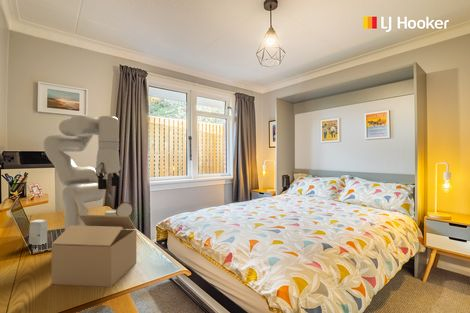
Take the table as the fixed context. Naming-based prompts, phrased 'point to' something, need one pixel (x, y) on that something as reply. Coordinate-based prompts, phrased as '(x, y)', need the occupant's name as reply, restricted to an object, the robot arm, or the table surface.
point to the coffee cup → (111, 212)
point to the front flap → (88, 235)
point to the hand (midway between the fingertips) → (109, 187)
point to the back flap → (107, 221)
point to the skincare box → (38, 232)
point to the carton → (94, 261)
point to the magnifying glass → (124, 209)
